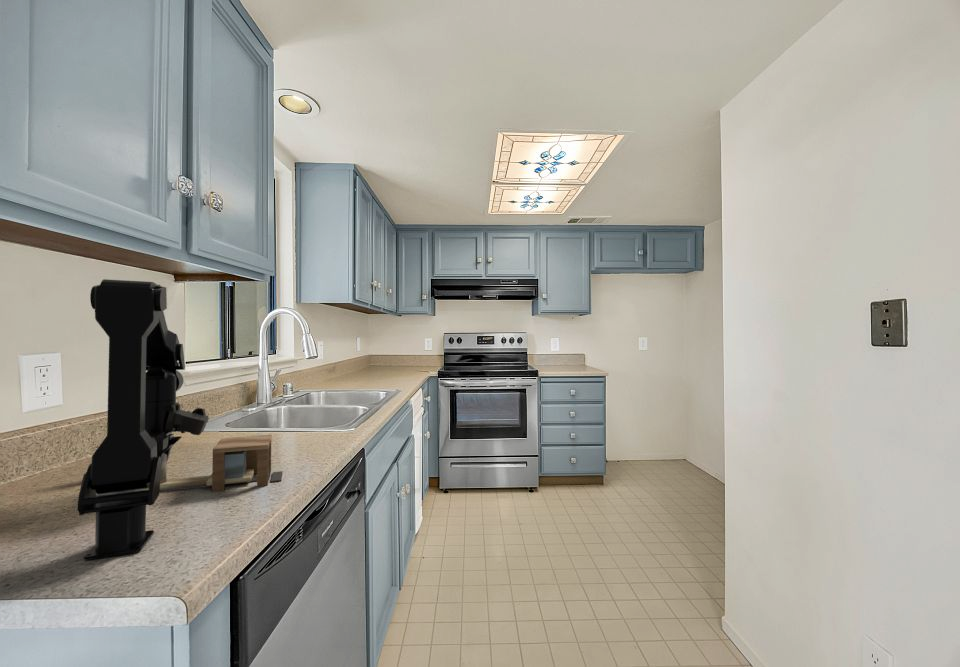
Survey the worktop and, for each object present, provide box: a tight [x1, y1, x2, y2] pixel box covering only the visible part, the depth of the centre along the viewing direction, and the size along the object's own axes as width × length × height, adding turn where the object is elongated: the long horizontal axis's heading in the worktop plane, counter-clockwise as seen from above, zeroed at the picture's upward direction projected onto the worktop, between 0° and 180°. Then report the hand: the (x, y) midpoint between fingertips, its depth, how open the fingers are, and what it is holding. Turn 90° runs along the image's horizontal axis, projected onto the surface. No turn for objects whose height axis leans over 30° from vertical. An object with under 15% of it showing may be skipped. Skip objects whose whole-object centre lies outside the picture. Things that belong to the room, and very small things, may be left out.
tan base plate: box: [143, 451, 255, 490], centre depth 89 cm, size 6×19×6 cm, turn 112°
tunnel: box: [211, 434, 272, 493], centre depth 92 cm, size 10×10×8 cm
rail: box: [96, 473, 271, 497], centre depth 88 cm, size 2×32×1 cm, turn 113°
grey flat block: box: [270, 470, 284, 483], centre depth 95 cm, size 6×2×1 cm, turn 22°
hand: (157, 477), depth 86 cm, fingers closed on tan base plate, 3 cm apart
